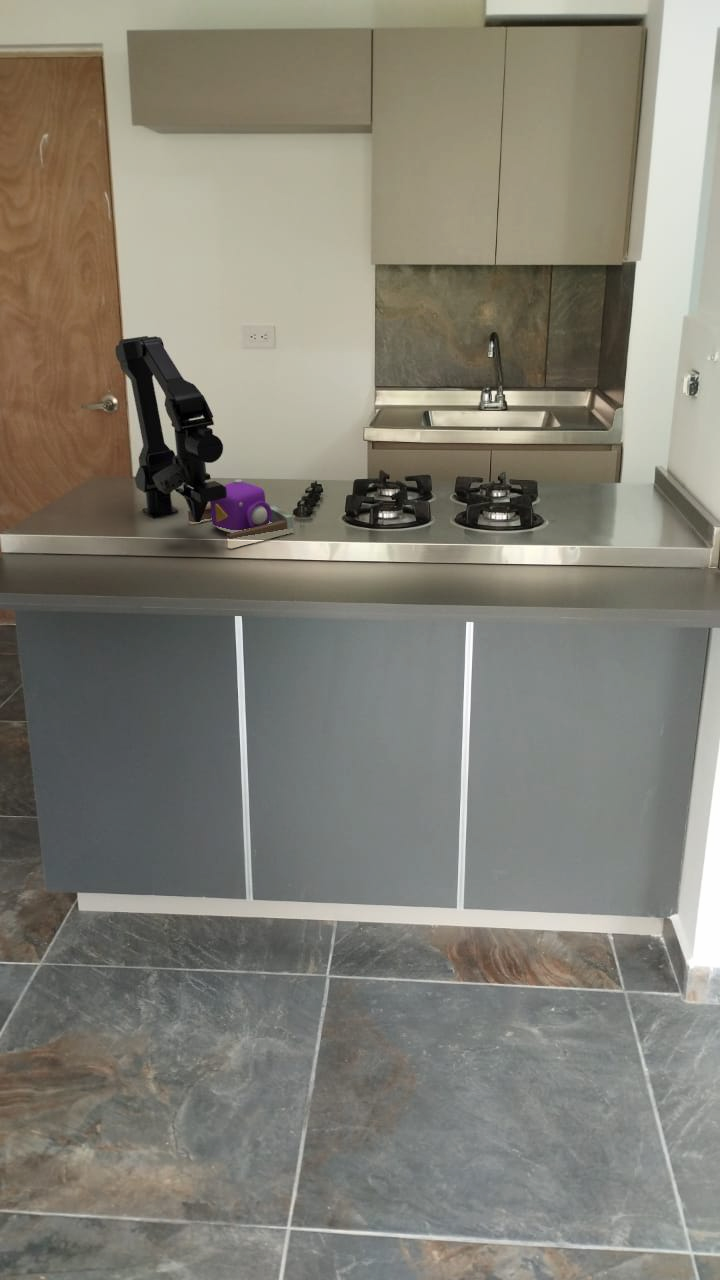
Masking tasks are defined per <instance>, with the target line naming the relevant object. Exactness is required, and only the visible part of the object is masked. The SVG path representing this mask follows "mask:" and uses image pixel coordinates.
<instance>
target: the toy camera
mask: <svg viewBox="0 0 720 1280" xmlns="http://www.w3.org/2000/svg"><path fill="white" fill-rule="evenodd" d="M223 486H224V487H226V490H227V497H226V498H222V499H218V500H214V501H210V502H209V503H210V505H209V506H211V515H212V521H211V522H212V523H211V524H212V526H213V525H215V526H218V527H222V528H226V529H230V530H244V529H249V528H254V527H258V526H262V525H266V524H268V523H269V521H270V519H271V508H270V506H269V505H268V504H267V503H268V502H267V501H266V495H265V494H266V493H265V491H264V489H263V488H262V487H260V486H257V485H254V484H251V483H247V482H244V481H243V480H242V479H240V478H239V479H234V482H230V483H227V484H224V485H223ZM266 502H267V503H266Z"/></svg>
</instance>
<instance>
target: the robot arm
mask: <svg viewBox="0 0 720 1280" xmlns="http://www.w3.org/2000/svg"><path fill="white" fill-rule="evenodd" d="M164 345H165V344H164V341H163V339H162V338H161V337H158V336H157V335H156V336H148V335H145V336H137V337H130V338H124V339H123V338H121V339H120V340H119V342H118V344H117V345H116V346H115V350H114V351H115V356H116V358H117V361H118V362H119V365H120V368H121V369H120V370H121V371H122V372H123V373H124V374H125V375H126V376H127V378H128V379H129V380H130V382H131V383H130V384H131V388H132V393H133V398H134V404H135V409H136V413H137V414H136V415H137V419H138V425H139V430H140V434H141V435H140V436H141V439H142V440H141V441H142V448H141V451H140V453H139V456H138V464H139V465H138V469H137V472H136V474H135V477H134V482H135V485H136V488H137V489H138V490H140V491H141V492H142V493H145V498H146V507H144V508H142V509H141V510H142V512H143V513H145V514H146V515H148V516H149V517H151V518H152V519H156V518H155V517H157V518H161V517H164V516H165V517H166V516H169V515H174V514H178V513H179V509H178V508H176V507H174V506H173V502H172V501H173V500H172V492H173V491H175V492H176V493H177V494H179V495H181V496H182V497H183V498H184V499H185V502H186V504H187V507H188V509H189V511H191V514H192V516H193V519H194V521H195V522H200V521H201V519H202V516H203V513H204V511H205V508H206V507H207V506H208V503H210V501H214V500H218V499H222V498H226V497H227V490H226V487H224V485H223V484H222V483H219V482H217V481H216V480H213V481H210V480H211V474H210V473H208V472H207V465H206V463H207V464H208V463H209V464H210V463H211V464H212V463H214V462H216V461H218V460H219V459H221V456H222V455H223V452H224V443H223V442H222V440H221V439H220V437H218V436H217V435H215V434H214V432H213V428H211V427H209V426H214V425H215V423H214V419H213V418H214V415H213V412H212V410H211V408H210V406H209V404H208V401H207V400H206V398H205V396H204V395H203V394H202V393H201V391H200V390H199V388H198V387H197V386H196V385H195V384H194V383H192V382H189V381H187V380H185V379H184V377H183V376H182V374H181V373H180V371H179V369H178V367H177V366H176V365H175V363H174V362H173V359H172V358H171V357H170V354H169V353H168V352H167V350H166V349H165V346H164ZM153 377H154V379H155V380H156V382H157V384H158V385H159V387H160V388H161V389H162V391H163V393H164V397H165V398H164V407H165V412H166V414H167V416H168V418H169V419H170V421H171V426H172V427H173V428H174V440H175V450H176V452H174V450H173V449H171V448H170V447H169V446H167V444H166V442H165V438H164V434H163V428H162V422H161V417H160V411H159V405H158V402H157V395H156V391H155V384H154V379H153ZM208 480H209V481H208Z"/></svg>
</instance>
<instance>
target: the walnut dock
mask: <svg viewBox="0 0 720 1280" xmlns="http://www.w3.org/2000/svg"><path fill="white" fill-rule="evenodd" d="M265 502H266V503H267V504H268V505H269V506H270V508H271V519H270V522H272V523H270V524H266V525H262V526H258V527H254V528H250V529H246V530H242V531H238V532H234V533H230V534H229V533H226V539H227V538H229V539H233V538H237V537H242V536H248V535H255V534H261V533H266V532H273V531H278V530H284V529H290V528H294V516H293V515H291V514H289V513H288V512H286V511H284V510H282V509H280V508H278V507H277V506H275V505H273V504H271V503H269V502H267V501H265ZM187 513H188V514H187V515H188V516H187V517H188V522H189V521H191V522H195V521H194V519H193V516H192V514H191V511H190V510H187ZM211 518H212V515H211V505H207V506H206V508H205V511H204V513H203V516H202V519H201V520H204V519H211Z"/></svg>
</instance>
